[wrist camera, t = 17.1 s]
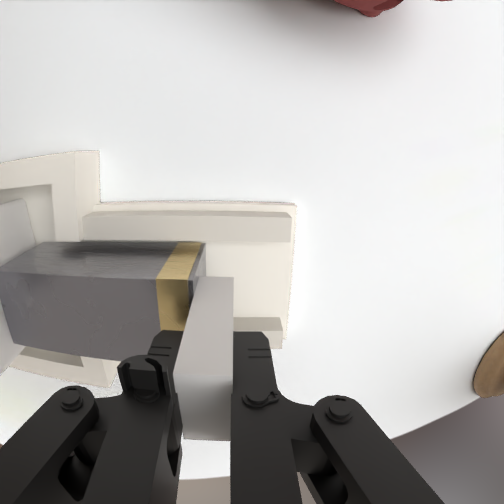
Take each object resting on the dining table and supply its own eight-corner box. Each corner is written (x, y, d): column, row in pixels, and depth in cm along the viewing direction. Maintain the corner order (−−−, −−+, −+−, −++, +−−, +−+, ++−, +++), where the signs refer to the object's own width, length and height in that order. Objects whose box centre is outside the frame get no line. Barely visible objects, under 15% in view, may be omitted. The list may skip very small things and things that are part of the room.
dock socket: (-43, 174, 15) (-69, 180, 12) (296, 148, 16) (308, 147, 13) (-12, 337, 19) (-30, 354, 16) (280, 367, 20) (286, 396, 17)
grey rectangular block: (43, 241, 15) (-8, 270, 11) (205, 242, 16) (192, 279, 11) (54, 303, 17) (13, 344, 12) (206, 313, 17) (198, 368, 12)
